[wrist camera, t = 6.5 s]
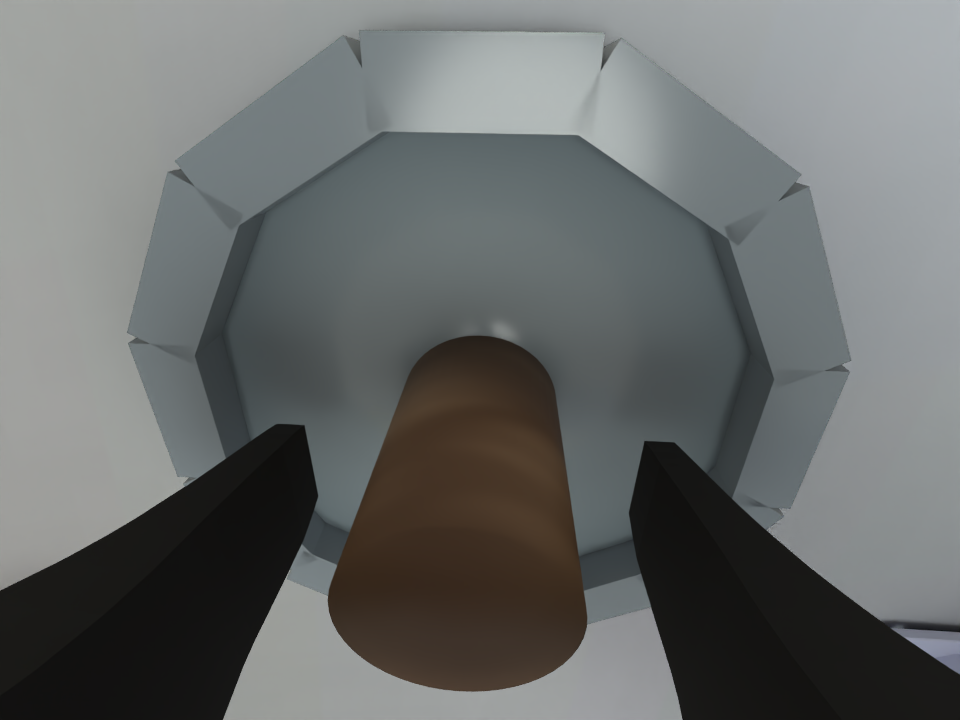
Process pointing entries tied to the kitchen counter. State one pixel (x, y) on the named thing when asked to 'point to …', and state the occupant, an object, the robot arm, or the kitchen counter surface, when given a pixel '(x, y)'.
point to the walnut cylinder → (466, 529)
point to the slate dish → (493, 275)
